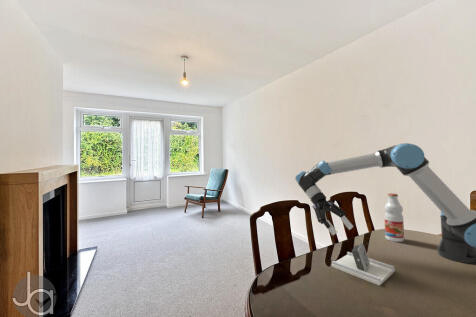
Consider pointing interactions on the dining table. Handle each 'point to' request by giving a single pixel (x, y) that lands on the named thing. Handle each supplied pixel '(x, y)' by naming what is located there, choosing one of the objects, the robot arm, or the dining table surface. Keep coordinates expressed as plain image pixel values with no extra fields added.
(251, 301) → the dining table surface
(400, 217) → the fruit juice
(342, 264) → the white tray
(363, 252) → the electrical switch
